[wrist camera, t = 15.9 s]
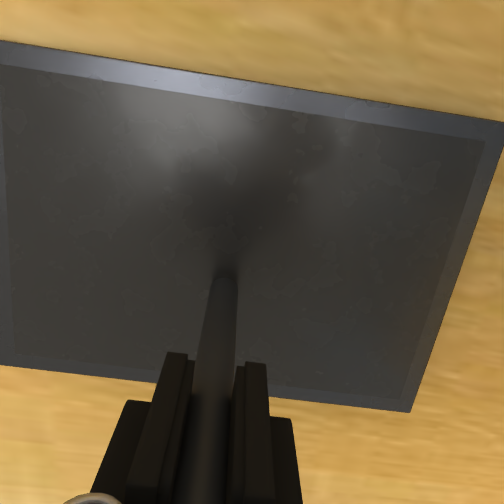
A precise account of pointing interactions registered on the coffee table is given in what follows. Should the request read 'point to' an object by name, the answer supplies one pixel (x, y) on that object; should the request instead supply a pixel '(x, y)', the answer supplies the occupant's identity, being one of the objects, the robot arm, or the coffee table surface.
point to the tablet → (229, 223)
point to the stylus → (210, 403)
